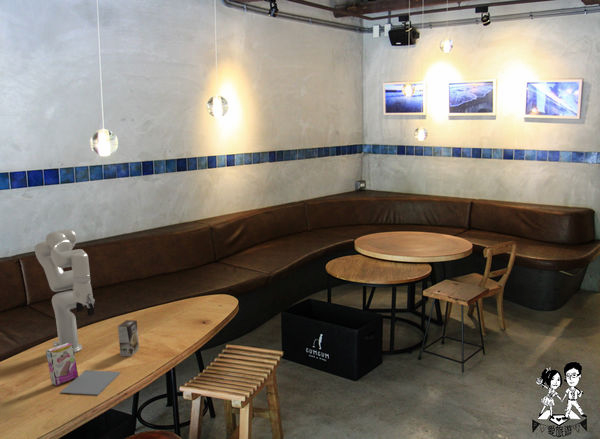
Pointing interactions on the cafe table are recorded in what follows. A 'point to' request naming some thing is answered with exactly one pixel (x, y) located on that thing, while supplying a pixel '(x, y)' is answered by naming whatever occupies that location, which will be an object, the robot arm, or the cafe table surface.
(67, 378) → the candy bar box
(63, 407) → the cafe table surface
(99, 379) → the mat
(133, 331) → the coffee box
